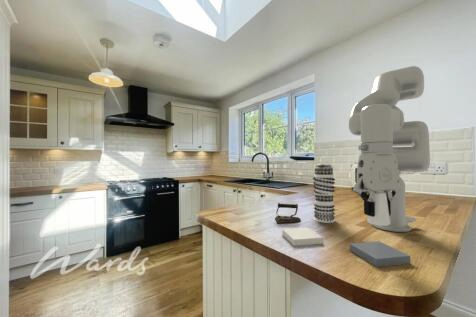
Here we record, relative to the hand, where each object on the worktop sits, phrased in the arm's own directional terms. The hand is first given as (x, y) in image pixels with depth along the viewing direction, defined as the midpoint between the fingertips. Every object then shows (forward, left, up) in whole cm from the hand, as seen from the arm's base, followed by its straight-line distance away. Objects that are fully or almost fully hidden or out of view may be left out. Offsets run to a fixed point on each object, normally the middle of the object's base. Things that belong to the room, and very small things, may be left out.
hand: (377, 214), depth 59 cm
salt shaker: (0, 0, -3) cm, 3 cm away
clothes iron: (+11, -37, -12) cm, 40 cm away
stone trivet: (+15, -16, -12) cm, 25 cm away
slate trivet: (0, 0, -12) cm, 12 cm away
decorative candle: (-5, -35, -12) cm, 37 cm away
